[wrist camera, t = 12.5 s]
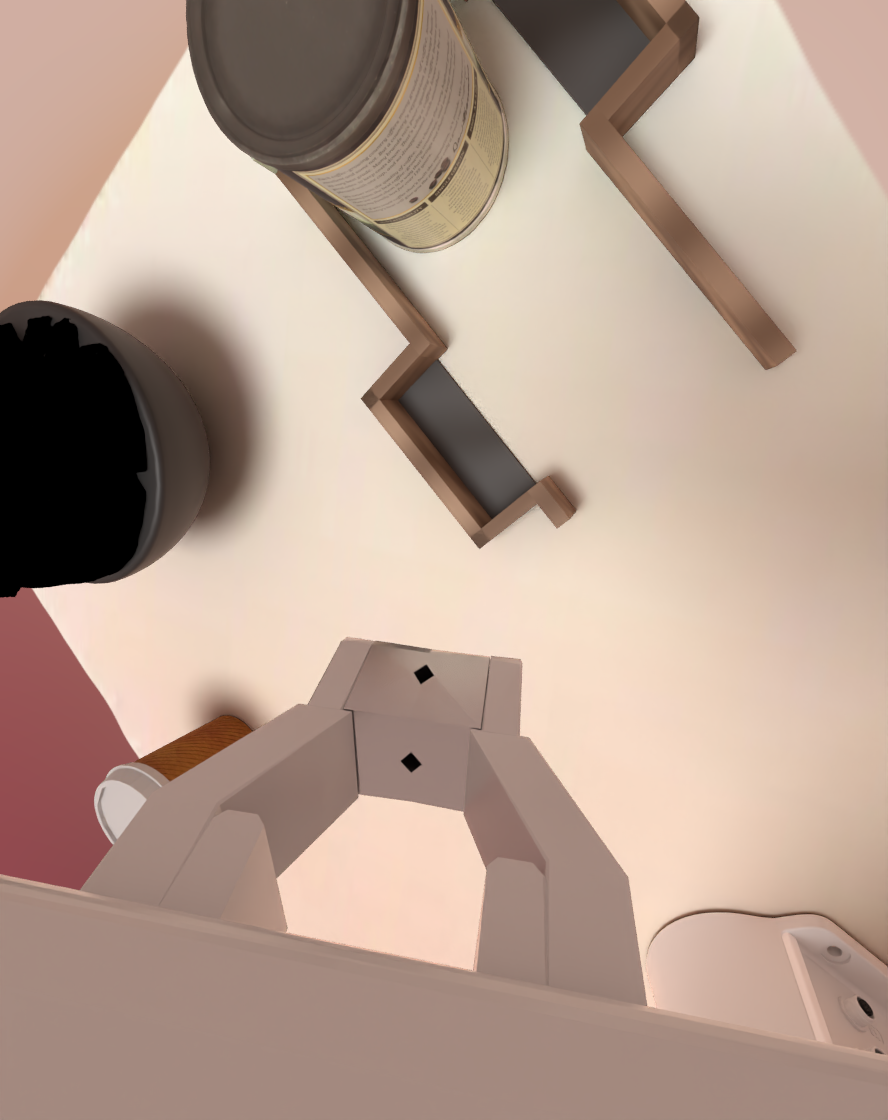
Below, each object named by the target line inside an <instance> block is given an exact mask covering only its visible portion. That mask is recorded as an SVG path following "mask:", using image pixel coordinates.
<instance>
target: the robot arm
mask: <svg viewBox="0 0 888 1120" xmlns="http://www.w3.org/2000/svg"><path fill="white" fill-rule="evenodd" d="M489 664H490V666H489ZM488 674H489V675H488ZM521 686H522V661H521V659H514V658H505V657H496V656H491V659H490V657H489V656H481V655H473V654H465V653H457V652H449V651H441V650H432V649H427V648H420V647H413V646H407V645H400V644H394V643H387V642H381V641H371V640H364V639H358V638H351V637H346V638H345V639H344V640H343V641H342V642H341V643H340V645H339V647H338V648H337V650H336V652H335V654H334V656H333V658H332V660H331V662H330V663H329V665H328V667H327V669H326V671H325V673H324V675H323V677H322V679H321V680H320V682H319V684H318V686H317V688H316V690H315V692H314V694H313V695H312V697H311V699H310V701H309V703H308V705H304V704H297V705H296V706H294V707H292V708H291V709H289V710H287V711H286V712H284V713H283V714H281V715H279V716H278V717H276V718H274V719H273V720H271V721H269V722H268V723H266V724H264V725H263V726H261V727H259V728H258V729H256V730H255V731H253V732H251V733H250V734H248V735H246V736H245V737H243V738H241V739H240V740H238V741H236V742H235V743H233V744H231V745H230V746H228V747H227V748H225V749H223V750H222V751H220V752H218V753H217V754H215V755H213V756H212V757H210V758H208V759H207V760H205V761H203V762H202V763H200V764H198V765H197V766H195V767H194V768H192V769H190V770H189V771H187V772H185V773H184V774H182V775H180V776H179V777H177V778H175V779H174V780H172V781H170V782H169V783H167V784H166V785H164V786H162V787H161V788H159V789H157V790H156V791H154V792H152V794H151V795H150V796H149V798H148V799H147V800H146V802H145V803H144V804H143V806H142V807H141V808H140V810H139V811H138V812H137V814H136V815H135V816H134V818H133V819H132V821H131V822H130V823H129V825H128V826H127V827H126V829H125V830H124V831H123V833H122V834H121V835H120V837H119V838H118V839H117V841H116V842H115V843H114V845H113V846H112V848H111V849H110V850H109V852H108V853H107V854H106V856H105V857H104V858H103V860H102V861H101V863H100V864H99V865H98V866H97V868H96V869H95V870H94V872H93V873H92V874H91V876H90V877H89V879H88V880H87V881H86V883H85V884H84V886H83V887H82V888H81V889H80V890H75V889H70V888H65V887H60V886H55V885H50V884H46V883H40V882H36V881H31V880H26V879H21V878H16V877H11V876H6V875H1V874H0V1120H888V967H887V966H886V965H885V964H884V963H883V962H881V961H880V960H879V959H878V958H876V957H875V956H874V955H873V954H871V953H870V952H869V951H868V950H866V949H865V948H864V947H863V946H862V945H860V944H859V943H858V942H857V941H855V940H854V939H853V938H852V937H850V936H849V935H848V934H847V933H845V932H844V931H843V930H842V929H841V928H839V927H838V926H837V925H836V924H834V923H833V922H832V921H830V920H829V919H827V918H825V917H822V916H819V915H813V914H802V915H792V916H785V917H779V918H765V917H757V916H751V915H745V914H737V913H725V912H715V913H703V914H697V915H692V916H688V917H685V918H682V919H679V920H677V921H675V922H673V923H671V924H669V925H668V926H666V927H665V928H664V929H663V930H661V931H660V932H659V933H658V934H657V936H656V937H655V938H654V940H653V941H652V943H651V945H650V947H649V950H648V953H647V958H646V970H647V976H648V980H649V983H650V986H651V989H652V993H653V997H654V1000H655V1005H656V1008H653V1007H648V1006H647V1001H646V994H645V988H644V981H643V974H642V967H641V961H640V954H639V947H638V941H637V934H636V927H635V920H634V914H633V907H632V900H631V893H630V887H629V880H628V876H627V875H626V874H625V872H624V871H623V869H622V868H621V867H620V865H619V864H618V862H617V861H616V860H615V858H614V857H613V855H612V854H611V852H610V851H609V850H608V848H607V847H606V845H605V844H604V843H603V841H602V840H601V838H600V837H599V835H598V834H597V833H596V831H595V830H594V828H593V827H592V826H591V824H590V823H589V821H588V820H587V819H586V817H585V816H584V814H583V813H582V811H581V810H580V809H579V807H578V806H577V804H576V803H575V802H574V800H573V799H572V797H571V796H570V794H569V793H568V792H567V790H566V789H565V787H564V786H563V785H562V783H561V782H560V780H559V779H558V778H557V776H556V775H555V773H554V772H553V770H552V769H551V768H550V766H549V765H548V763H547V762H546V761H545V759H544V758H543V756H542V755H541V753H540V752H539V751H538V749H537V748H536V746H535V745H534V744H533V742H532V741H531V739H530V738H528V737H522V736H520V712H521ZM358 794H361V795H368V796H375V797H383V798H390V799H397V800H405V801H412V802H417V803H422V804H427V805H432V806H437V807H442V808H447V809H453V810H458V811H463V812H464V817H465V819H466V821H467V824H468V826H469V829H470V831H471V834H472V836H473V838H474V841H475V843H476V846H477V848H478V850H479V853H480V855H481V858H482V860H483V863H484V865H485V867H486V878H485V885H484V893H483V900H482V908H481V915H480V922H479V930H478V937H477V945H476V952H475V960H474V968H473V971H472V970H468V969H463V968H458V967H453V966H448V965H443V964H438V963H433V962H428V961H424V960H419V959H414V958H409V957H404V956H399V955H394V954H389V953H384V952H380V951H375V950H370V949H365V948H360V947H355V946H350V945H345V944H340V943H335V942H330V941H326V940H321V939H316V938H311V937H306V936H301V935H296V934H291V933H286V931H287V923H286V919H285V915H284V910H283V906H282V902H281V897H280V893H279V888H278V884H277V880H276V878H277V877H278V876H280V875H281V874H282V873H283V872H284V871H285V870H286V869H287V868H288V867H289V866H290V865H291V864H292V863H293V862H294V861H295V860H296V859H297V858H298V857H299V856H300V855H301V854H302V853H303V852H304V851H305V850H306V849H307V848H308V847H309V846H310V845H311V844H312V843H313V842H314V841H315V840H316V839H317V838H318V837H319V836H320V835H321V834H322V833H323V832H324V831H325V830H326V829H327V828H328V827H329V826H330V825H331V824H332V823H333V822H334V821H335V820H336V819H337V818H338V817H339V816H340V815H341V814H342V813H343V812H344V811H345V810H346V809H347V808H348V807H349V806H350V805H351V804H352V803H353V802H354V801H355V800H356V799H358ZM832 946H835V947H832Z"/></svg>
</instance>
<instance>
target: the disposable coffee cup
mask: <svg viewBox="0 0 888 1120" xmlns="http://www.w3.org/2000/svg"><path fill="white" fill-rule="evenodd" d="M251 732H252V731H251V729H250V728H249V727H248V726H247V725H246V724H245V723H243V722H242V721H241V720H239V719H238V718H235V717H233V716H220V717H219V718H217V719H215V720H213V721H211V722H209V723H207V724H205V725H203V726H201V727H199V728H198V729H196V730H194V731H192V732H190V733H188V734H186V735H184V736H182V737H180V738H178V739H177V740H175V741H173V742H171V743H169V744H167V745H165V746H163V747H162V748H160V749H158V750H156V751H154V752H152V753H150V754H148V755H146V756H144V757H143V758H141V759H139V760H137V761H135V762H133V763H128V764H125V765H123V764H122V765H120V766H117V767H115V768H113V769H112V770H111V771H110V772H109V773H108V775H107V777H106V779H105V780H104V781H103V782H102V783H101V784H100V785H99V786H98V788H97V790H96V792H95V798H94V803H95V810H96V814H97V817H98V821H99V823H100V825H101V826H102V829H103V831H104V832H105V834H106V836H107V837H108V839H109V840H110V841H111V842H112V843H113V845H114V843H115V842H116V841H117V839H118V838H119V837H120V835H121V834H122V833H123V831H124V830H125V829H126V827H127V826H128V825H129V823H130V822H131V821H132V819H133V818H134V816H135V815H136V814H137V812H138V811H139V810H140V808H141V807H142V806H143V804H144V803H145V802H146V800H147V799H148V798H149V796H150V795H151V794H152V792H154V791H156V790H157V789H159V788H161V787H162V786H164V785H166V784H167V783H169V782H170V781H172V780H174V779H175V778H177V777H179V776H180V775H182V774H184V773H185V772H187V771H189V770H190V769H192V768H194V767H195V766H197V765H198V764H200V763H202V762H203V761H205V760H207V759H208V758H210V757H212V756H213V755H215V754H217V753H218V752H220V751H222V750H223V749H225V748H227V747H228V746H230V745H231V744H233V743H235V742H236V741H238V740H240V739H241V738H243V737H245V736H246V735H248V734H250V733H251Z"/></svg>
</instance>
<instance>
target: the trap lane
mask: <svg viewBox="0 0 888 1120" xmlns="http://www.w3.org/2000/svg"><path fill="white" fill-rule="evenodd" d="M467 1H468V0H465V2H467ZM493 2H494V3H495V4H496V5H497V7H498V8H499V9H500V10H501V11H502V13H503V14H504V15H505V16H506V18H507V19H508V20H509V21H510V22H511V24H512V25H513V26H514V27H515V29H516V30H517V31H518V32H519V33H520V35H521V36H522V37H523V38H524V40H525V41H526V42H527V43H528V45H529V46H530V47H531V48H532V49H533V51H534V52H535V53H536V54H537V56H538V57H539V58H540V59H541V60H542V62H543V63H544V64H545V65H546V67H547V68H548V69H549V70H550V71H551V73H552V74H553V75H554V76H555V78H556V79H557V80H558V81H559V82H560V84H561V85H562V86H563V87H564V89H565V90H566V91H567V92H568V94H569V95H570V96H571V97H572V98H573V100H574V101H575V102H576V103H577V105H578V106H579V107H580V108H581V109H582V111H583V112H584V113H585V114H586V117H585V118H584V119H583V120H582V121H581V123H580V127H581V131H582V135H583V138H584V142H585V146H586V150H587V151H588V153H589V154H590V155H591V156H592V157H593V159H594V160H595V161H596V162H597V164H598V165H599V166H600V167H601V169H602V170H603V171H604V172H605V173H606V175H607V176H608V177H609V178H610V180H611V181H612V182H613V183H614V184H615V186H616V187H617V188H618V189H619V191H620V192H621V193H622V194H623V196H624V197H625V198H626V199H627V200H628V202H629V203H630V204H631V205H632V207H633V208H634V209H635V210H636V212H637V213H638V214H639V215H640V216H641V218H642V219H643V220H644V221H645V223H646V224H647V225H648V226H649V227H650V229H651V230H652V231H653V232H654V234H655V235H656V236H657V237H658V239H659V240H660V241H661V242H662V243H663V245H664V246H665V247H666V248H667V250H668V251H669V252H670V253H671V254H672V256H673V257H674V258H675V259H676V261H677V262H678V263H679V264H680V266H681V267H682V268H683V269H684V270H685V272H686V273H687V274H688V275H689V277H690V278H691V279H692V280H693V281H694V283H695V284H696V285H697V286H698V288H699V289H700V290H701V291H702V293H703V294H704V295H705V296H706V297H707V299H708V300H709V301H710V302H711V304H712V305H713V306H714V307H715V308H716V310H717V311H718V312H719V313H720V315H721V316H722V317H723V318H724V320H725V321H726V322H727V323H728V324H729V326H730V327H731V328H732V329H733V331H734V332H735V333H736V334H737V335H738V337H739V338H740V339H741V340H742V342H743V343H744V344H745V345H746V347H747V348H748V349H749V350H750V351H751V353H752V354H753V355H754V356H755V358H756V359H757V360H758V361H759V362H760V364H761V365H762V366H763V367H764V369H765V370H767V369H770V368H772V367H775V366H777V365H779V364H780V363H781V362H783V361H784V360H785V359H787V358H788V357H790V356H791V355H792V354H794V353H795V352H796V351H797V350H796V349H795V348H794V347H793V346H792V344H791V343H790V342H789V341H788V339H787V338H786V337H785V336H784V335H783V333H782V332H781V331H780V330H779V328H778V327H777V326H776V325H775V324H774V322H773V321H772V320H771V319H770V317H769V316H768V315H767V314H766V313H765V311H764V310H763V309H762V308H761V306H760V305H759V304H758V303H757V302H756V300H755V299H754V298H753V297H752V295H751V294H750V293H749V292H748V291H747V289H746V288H745V287H744V286H743V284H742V283H741V282H740V281H739V279H738V278H737V277H736V276H735V275H734V273H733V272H732V271H731V270H730V268H729V267H728V266H727V265H726V264H725V262H724V261H723V260H722V259H721V257H720V256H719V255H718V254H717V253H716V251H715V250H714V249H713V248H712V246H711V245H710V244H709V243H708V242H707V240H706V239H705V238H704V237H703V235H702V234H701V233H700V232H699V231H698V229H697V228H696V227H695V226H694V224H693V223H692V222H691V221H690V220H689V218H688V217H687V216H686V215H685V213H684V212H683V211H682V210H681V209H680V207H679V206H678V205H677V204H676V202H675V201H674V200H673V199H672V198H671V196H670V195H669V194H668V193H667V191H666V190H665V189H664V188H663V187H662V185H661V184H660V183H659V182H658V180H657V179H656V178H655V177H654V176H653V174H652V173H651V172H650V171H649V169H648V168H647V167H646V166H645V165H644V163H643V162H642V161H641V160H640V158H639V157H638V156H637V155H636V153H635V152H634V151H633V150H632V149H631V147H630V146H629V145H628V144H627V142H626V141H625V140H624V139H623V138H622V136H623V135H624V134H625V133H626V132H627V131H628V130H629V129H630V128H631V127H632V126H633V124H634V123H635V122H636V121H637V120H638V119H639V118H640V117H641V116H642V115H643V114H644V112H645V111H646V110H647V109H648V108H649V107H650V106H651V105H652V104H653V103H654V102H655V100H656V99H657V98H658V97H659V96H660V95H661V94H662V93H663V92H664V91H665V89H666V88H667V87H668V86H669V85H670V84H671V83H672V82H673V81H674V80H675V79H676V77H677V76H678V75H679V74H680V73H681V72H682V71H683V70H684V69H685V68H686V67H687V65H688V64H689V63H690V62H691V61H692V60H693V59H694V58H695V51H696V42H697V34H698V25H699V16H698V15H697V14H696V13H695V12H694V10H693V9H692V8H691V7H690V6H689V4H688V3H687V2H686V1H685V0H493ZM276 175H277V177H278V178H279V179H280V180H281V182H282V183H283V184H284V185H285V187H286V188H287V189H288V190H289V192H290V193H291V194H292V195H293V197H294V198H295V199H296V200H297V202H298V203H299V204H300V206H301V207H302V208H303V209H304V211H305V212H306V213H307V214H308V216H309V217H310V218H311V219H312V221H313V222H314V223H315V224H316V226H317V227H318V228H319V229H320V231H321V232H322V233H323V234H324V236H325V237H326V238H327V240H328V241H329V242H330V243H331V245H332V246H333V247H334V248H335V250H336V251H337V252H338V253H339V255H340V256H341V257H342V258H343V260H344V261H345V262H346V263H347V265H348V266H349V267H350V268H351V270H352V271H353V272H354V274H355V275H356V276H357V277H358V279H359V280H360V281H361V282H362V284H363V285H364V286H365V287H366V289H367V290H368V291H369V292H370V294H371V295H372V296H373V297H374V299H375V300H376V301H377V302H378V304H379V305H380V306H381V308H382V309H383V310H384V311H385V313H386V314H387V315H388V316H389V318H390V319H391V320H392V321H393V323H394V324H395V325H396V326H397V328H398V329H399V330H400V331H401V333H402V334H403V335H404V336H405V338H406V339H407V340H408V342H409V343H410V344H409V345H408V346H407V347H406V348H405V349H404V351H403V352H402V353H401V354H400V355H399V356H398V357H397V358H396V360H395V361H394V362H393V363H392V364H391V365H390V366H389V367H388V369H387V370H386V371H385V372H384V373H383V374H382V375H381V376H380V378H379V379H378V380H377V381H376V382H375V383H374V384H373V385H372V387H371V388H370V389H369V390H368V391H367V392H366V393H365V394H364V396H363V397H362V398H361V399H362V401H363V402H364V403H365V404H366V406H367V407H368V408H369V410H370V411H371V412H372V413H373V415H374V416H375V417H376V418H377V420H378V421H379V422H380V423H381V425H382V426H383V427H384V429H385V430H386V431H387V432H388V434H389V435H390V436H391V437H392V439H393V440H394V441H395V442H396V444H397V445H398V446H399V448H400V449H401V450H402V451H403V453H404V454H405V455H406V456H407V458H408V459H409V460H410V462H411V463H412V464H413V465H414V467H415V468H416V469H417V470H418V472H419V473H420V474H421V475H422V477H423V478H424V479H425V481H426V482H427V483H428V484H429V486H430V487H431V488H432V489H433V491H434V492H435V493H436V495H437V496H438V497H439V498H440V500H441V501H442V502H443V503H444V505H445V506H446V507H447V508H448V510H449V511H450V512H451V514H452V515H453V516H454V517H455V519H456V520H457V521H458V522H459V524H460V525H461V526H462V527H463V529H464V530H465V531H466V533H467V534H468V535H469V536H470V538H471V539H472V540H473V541H474V543H475V544H476V545H477V547H478V548H479V549H480V548H481V547H483V546H484V545H485V544H486V543H488V542H489V541H490V540H492V539H493V538H494V537H495V536H497V535H498V534H499V533H500V532H502V531H503V530H504V529H506V528H507V527H508V526H509V525H511V524H512V523H513V522H514V521H516V520H517V519H518V518H520V517H521V516H522V515H523V514H525V513H526V512H527V511H528V510H530V509H531V508H532V507H534V506H535V505H536V504H538V505H539V506H540V508H541V509H542V510H543V512H544V513H545V514H546V515H547V517H548V518H549V519H550V520H551V522H552V523H553V524H554V525H555V527H556V528H559V527H560V526H561V525H563V524H564V523H565V522H567V521H568V520H569V519H570V518H571V517H572V516H573V514H574V513H575V512H576V509H575V508H574V507H573V506H572V504H571V503H570V502H569V501H568V499H567V498H566V497H565V496H564V494H563V493H562V492H561V491H560V489H559V488H558V487H557V486H556V484H555V483H554V482H553V481H552V479H551V478H550V477H549V476H547V477H546V478H544V479H542V480H541V481H539V482H538V483H537V484H536V483H535V482H534V481H533V479H532V478H531V477H530V476H529V474H528V473H527V472H526V470H525V469H524V468H523V467H522V465H521V464H520V463H519V462H518V460H517V459H516V458H515V457H514V455H513V454H512V453H511V452H510V450H509V449H508V448H507V447H506V445H505V444H504V443H503V442H502V440H501V439H500V438H499V437H498V435H497V434H496V433H495V431H494V430H493V429H492V428H491V426H490V425H489V424H488V423H487V421H486V420H485V419H484V418H483V416H482V415H481V414H480V413H479V411H478V410H477V409H476V408H475V406H474V405H473V404H472V403H471V401H470V400H469V399H468V398H467V396H466V395H465V394H464V392H463V391H462V390H461V389H460V387H459V386H458V385H457V384H456V382H455V381H454V380H453V379H452V377H451V376H450V375H449V374H448V372H447V371H446V370H445V369H444V367H443V366H442V365H441V364H440V362H439V361H438V359H439V358H440V357H441V355H442V354H443V353H444V352H445V351H446V350H447V347H446V346H445V345H444V344H443V342H442V341H441V340H440V339H439V337H438V336H437V335H436V334H435V332H434V331H433V330H432V329H431V327H430V326H429V325H428V324H427V322H426V321H425V320H424V319H423V317H422V316H421V315H420V314H419V312H418V311H417V310H416V309H415V307H414V306H413V305H412V303H411V302H410V301H409V300H408V298H407V297H406V296H405V295H404V293H403V292H402V291H401V290H400V288H399V287H398V286H397V285H396V283H395V282H394V281H393V280H392V278H391V277H390V276H389V275H388V273H387V272H386V271H385V270H384V268H383V267H382V266H381V265H380V263H379V262H378V261H377V260H376V258H375V257H374V256H373V255H372V253H371V252H370V251H369V249H368V248H367V247H366V246H365V244H364V243H363V242H362V241H361V239H360V238H359V237H358V236H357V234H356V233H355V232H354V231H353V229H352V228H351V227H350V226H349V224H348V223H347V222H346V221H345V219H344V218H343V217H342V216H341V214H340V213H339V212H338V211H337V209H336V208H335V207H334V206H333V204H332V203H330V202H328V201H327V200H325V199H323V198H322V197H320V196H318V195H317V194H315V193H314V192H312V191H310V190H309V189H307V188H306V187H304V186H302V185H301V184H299V183H298V182H296V181H295V180H293V179H291V178H290V177H288V176H287V175H285V174H283V173H282V172H280V171H279V170H278V171H277V173H276Z"/></svg>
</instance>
